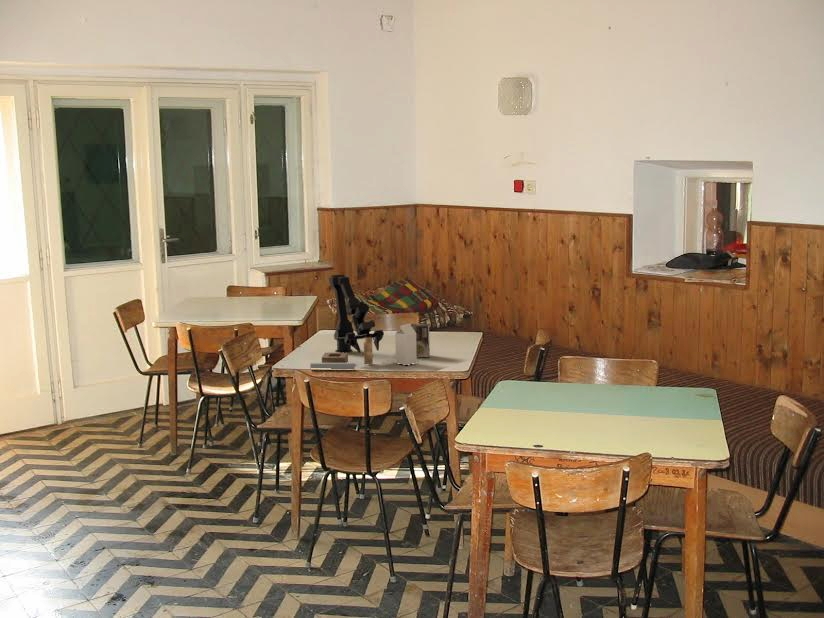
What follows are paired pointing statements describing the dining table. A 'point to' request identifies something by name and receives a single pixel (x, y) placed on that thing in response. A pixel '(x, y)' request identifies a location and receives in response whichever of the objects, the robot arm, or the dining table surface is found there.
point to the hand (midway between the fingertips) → (369, 351)
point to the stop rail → (333, 365)
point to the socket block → (335, 358)
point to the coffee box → (422, 339)
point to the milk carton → (405, 345)
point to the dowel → (368, 350)
